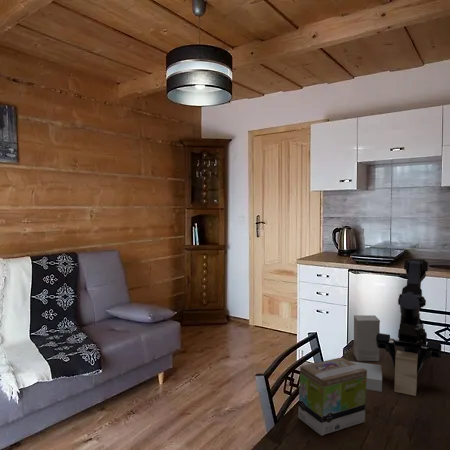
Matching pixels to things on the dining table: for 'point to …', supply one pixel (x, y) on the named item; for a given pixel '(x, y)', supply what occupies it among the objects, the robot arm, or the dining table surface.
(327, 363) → the tea box
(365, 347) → the skincare box
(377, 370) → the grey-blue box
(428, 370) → the dining table surface
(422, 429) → the dining table surface
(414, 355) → the birch block
